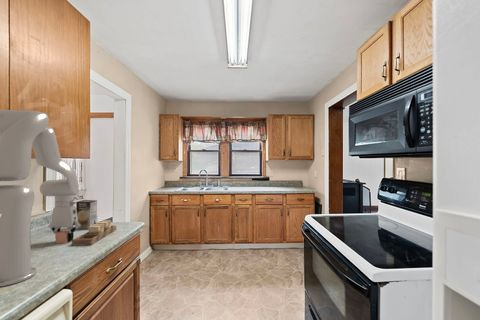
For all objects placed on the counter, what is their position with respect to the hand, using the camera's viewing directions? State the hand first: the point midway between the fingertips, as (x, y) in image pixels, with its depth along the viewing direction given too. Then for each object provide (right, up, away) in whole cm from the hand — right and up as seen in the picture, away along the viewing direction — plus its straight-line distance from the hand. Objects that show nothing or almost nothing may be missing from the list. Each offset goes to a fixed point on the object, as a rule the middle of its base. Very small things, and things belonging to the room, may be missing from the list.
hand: (64, 240), depth 119 cm
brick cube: (0, -1, 0) cm, 1 cm away
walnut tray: (+12, 0, +7) cm, 14 cm away
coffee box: (-5, -1, +24) cm, 25 cm away
